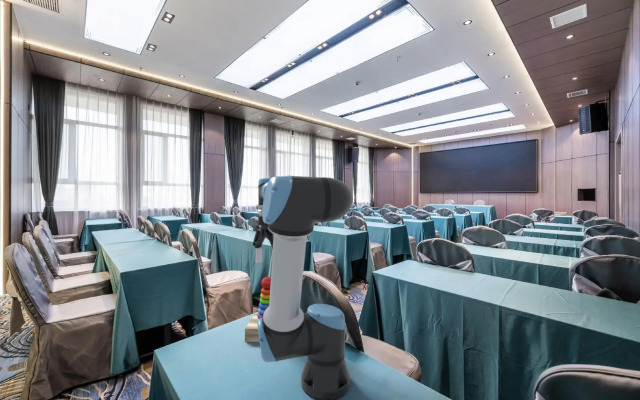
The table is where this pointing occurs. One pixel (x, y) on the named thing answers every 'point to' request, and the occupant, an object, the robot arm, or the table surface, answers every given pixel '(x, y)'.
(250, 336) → the plinth
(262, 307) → the stacking toy
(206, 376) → the table surface
